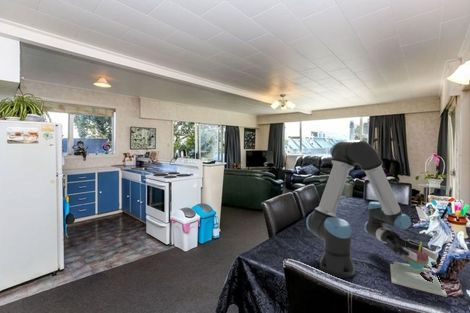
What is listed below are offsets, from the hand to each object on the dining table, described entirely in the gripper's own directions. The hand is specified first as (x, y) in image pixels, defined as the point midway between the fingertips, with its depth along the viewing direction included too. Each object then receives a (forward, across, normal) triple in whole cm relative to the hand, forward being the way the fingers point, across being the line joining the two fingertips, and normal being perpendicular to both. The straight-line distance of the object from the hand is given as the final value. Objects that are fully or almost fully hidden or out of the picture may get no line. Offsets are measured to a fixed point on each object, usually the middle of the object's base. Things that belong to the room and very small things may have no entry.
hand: (426, 257), depth 99 cm
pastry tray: (-5, 0, -12) cm, 13 cm away
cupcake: (-5, 0, -7) cm, 8 cm away
